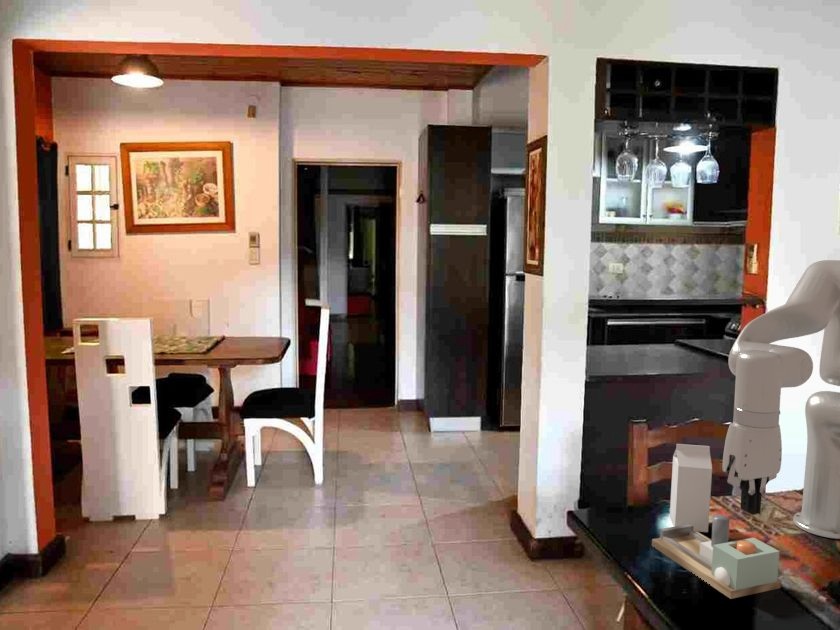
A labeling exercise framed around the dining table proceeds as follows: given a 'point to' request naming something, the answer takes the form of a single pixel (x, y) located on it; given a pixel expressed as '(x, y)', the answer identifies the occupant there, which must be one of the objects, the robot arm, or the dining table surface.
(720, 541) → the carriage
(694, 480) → the milk carton
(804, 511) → the robot arm
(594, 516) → the dining table surface
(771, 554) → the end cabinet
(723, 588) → the track
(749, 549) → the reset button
